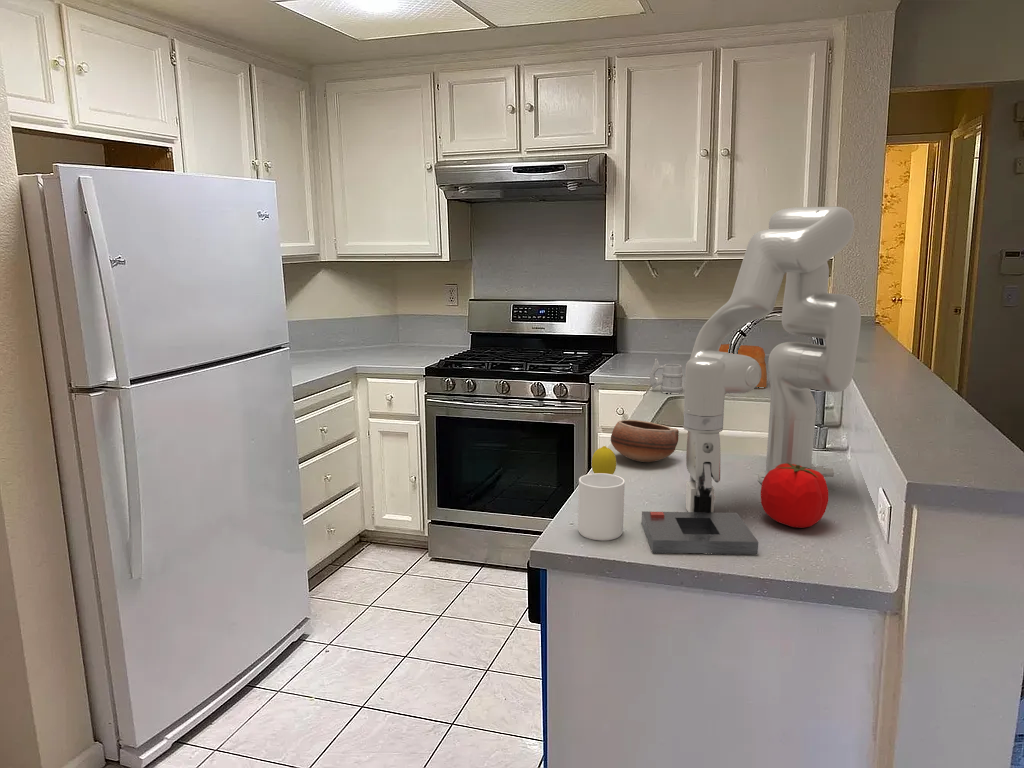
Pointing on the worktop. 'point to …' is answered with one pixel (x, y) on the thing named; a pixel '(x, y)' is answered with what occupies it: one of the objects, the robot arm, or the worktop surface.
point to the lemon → (604, 461)
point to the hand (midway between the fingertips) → (699, 509)
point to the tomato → (794, 495)
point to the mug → (668, 377)
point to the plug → (692, 492)
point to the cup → (601, 506)
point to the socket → (698, 533)
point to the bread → (756, 354)
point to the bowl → (644, 440)
